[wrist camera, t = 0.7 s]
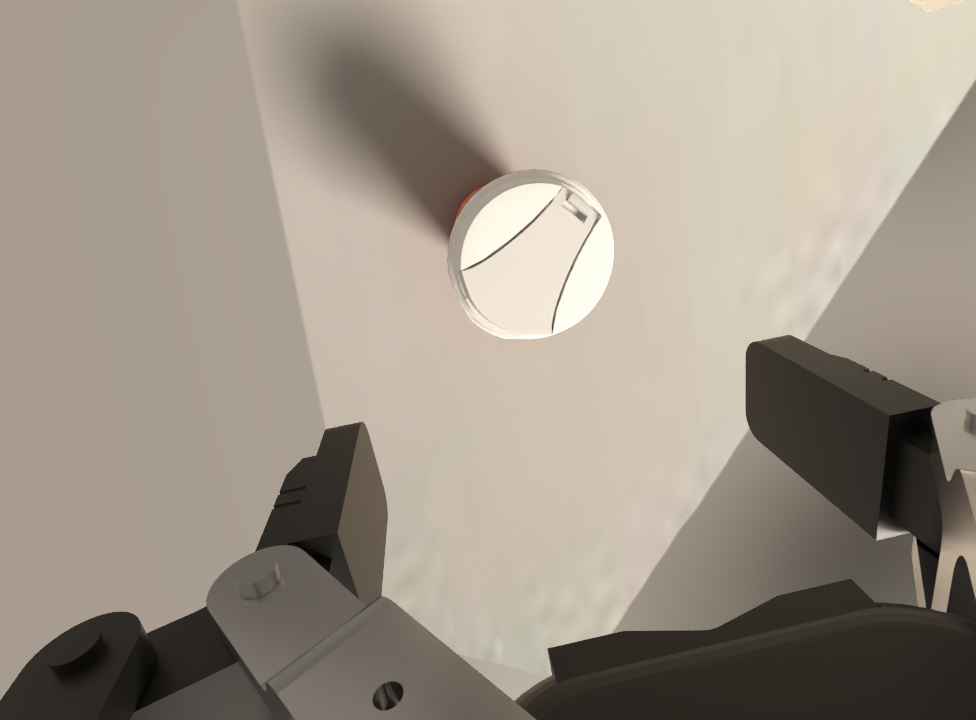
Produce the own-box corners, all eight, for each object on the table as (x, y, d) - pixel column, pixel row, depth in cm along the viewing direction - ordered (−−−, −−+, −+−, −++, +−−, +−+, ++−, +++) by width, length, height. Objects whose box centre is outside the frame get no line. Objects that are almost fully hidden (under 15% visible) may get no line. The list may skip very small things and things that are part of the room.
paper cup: (482, 141, 35) (520, 129, 22) (575, 213, 38) (658, 241, 24) (414, 243, 37) (411, 288, 24) (506, 306, 39) (550, 380, 26)
